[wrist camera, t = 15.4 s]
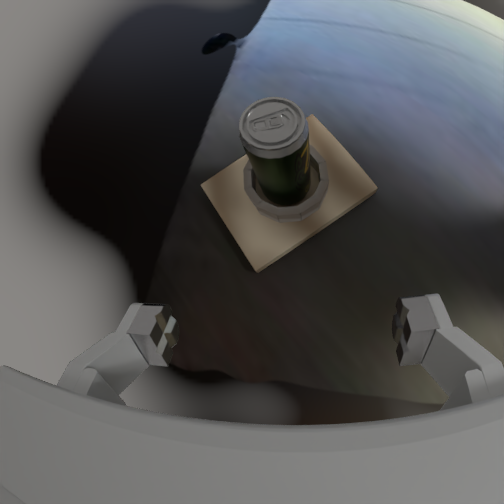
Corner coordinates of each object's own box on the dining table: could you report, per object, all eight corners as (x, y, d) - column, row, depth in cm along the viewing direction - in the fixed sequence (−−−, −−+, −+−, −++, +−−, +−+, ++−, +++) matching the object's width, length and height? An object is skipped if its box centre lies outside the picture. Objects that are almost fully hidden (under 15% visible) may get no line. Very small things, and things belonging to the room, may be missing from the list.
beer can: (266, 212, 32) (241, 159, 20) (257, 168, 33) (231, 104, 22) (315, 202, 31) (317, 143, 20) (304, 158, 32) (298, 88, 21)
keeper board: (312, 121, 35) (311, 101, 31) (375, 192, 32) (382, 178, 28) (204, 189, 36) (192, 176, 32) (257, 272, 33) (250, 267, 29)
